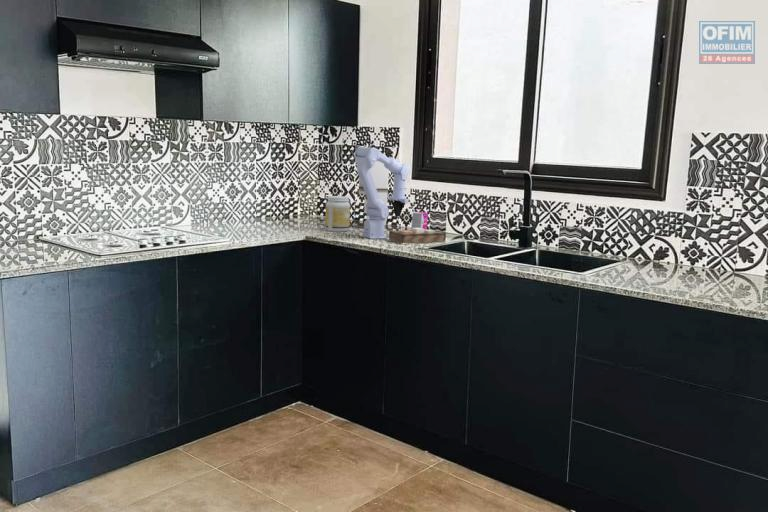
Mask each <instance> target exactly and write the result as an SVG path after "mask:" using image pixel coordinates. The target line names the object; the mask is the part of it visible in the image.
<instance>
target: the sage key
mask: <svg viewBox="0 0 768 512" xmlns="http://www.w3.org/2000/svg"><path fill="white" fill-rule="evenodd" d="M435 231H436V230H435ZM435 231H434V229H427V230H424V232H427V233H431V232H435Z"/></svg>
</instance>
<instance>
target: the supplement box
mask: <svg viewBox="0 0 768 512" xmlns="http://www.w3.org/2000/svg"><path fill="white" fill-rule="evenodd" d="M411 216H412V219H411V228H422V229H424V230H428V229H427V228H428V222H429V221H428V218H429V213H428V212H423V211H413V212H412V215H411Z"/></svg>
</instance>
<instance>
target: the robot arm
mask: <svg viewBox="0 0 768 512" xmlns="http://www.w3.org/2000/svg"><path fill="white" fill-rule="evenodd" d="M353 157H354V159H355V163H356V171H357V173H358V178H359V177H360V180H361V182H362V185H363V188H364V191H365V193H366V194H365V195H366V196H367V199H368V203H367V204H366V208H367V214H366V216H367V215H368V216H369V218H370V219H367V220H366V219H365V220H364V222H363V223H364V229H363V234H362V237H364V238H367V239H371V240H372V239H373V240H374V239H375V240H376V239H389V236H385V229H384V228H385V220H386V221H387V218H388V217H389V215H390V209H389V207H388V205H387V206H386V205H385V202H383V201H382V200H381V199H380V198H379V195H378V192H377V189H376V186H375V184H374V181H373V178H372V175H371V172H370V168H372V167H373V165H374V163H375V162H376V160H378V161H380V162H381V163H383V164H384V166H385V168H387V169H388V170H389V172H390V171H391V173H392V175H393V189H392V195H390V196H388V201H391V205H392V207H393V212H394V213H393V214H394V217H401V215H402V211H403V209H404V207H405V205H406V204H409V199H408V198H407V197H405V196H406V195H405V192H406V180H407V177H408V174H409V172H410V170H409V168H408V166H407V164H404V163H402V162H401V161H399V160H396V157H394V156H389V157H388V156H386V155H385V154H384V153H383V152H381V151H380V149H377V148H376V147H365V146H357V148H356V149H355V152H354V155H353Z"/></svg>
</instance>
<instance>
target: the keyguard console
mask: <svg viewBox="0 0 768 512" xmlns="http://www.w3.org/2000/svg"><path fill="white" fill-rule="evenodd" d="M407 230H408V229H407ZM433 230H434V229H433ZM400 231H401V230H389V233H388V241H392V242H394V241H395V242H394V243H397V242H399V243H398V244H401V243H417V244H430V243H429V242H439V243H445V242H446V236H447V234H446V232H442V231H438V230H434V231H435V232H431V233H427V232H424V233H414V232H413V233H401V232H400ZM408 231H411V229H409V230H408ZM444 241H445V242H444ZM427 242H428V243H427Z"/></svg>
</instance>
